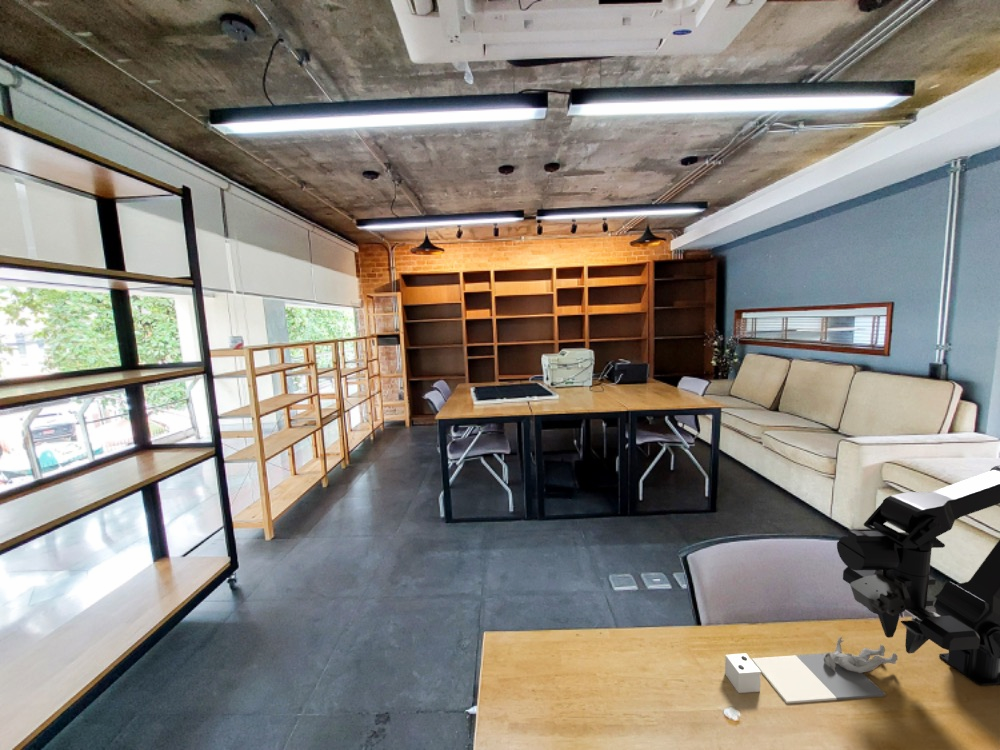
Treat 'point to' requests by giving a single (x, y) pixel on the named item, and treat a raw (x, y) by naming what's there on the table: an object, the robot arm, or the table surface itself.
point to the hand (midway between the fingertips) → (899, 644)
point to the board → (814, 679)
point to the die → (742, 673)
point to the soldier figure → (858, 659)
